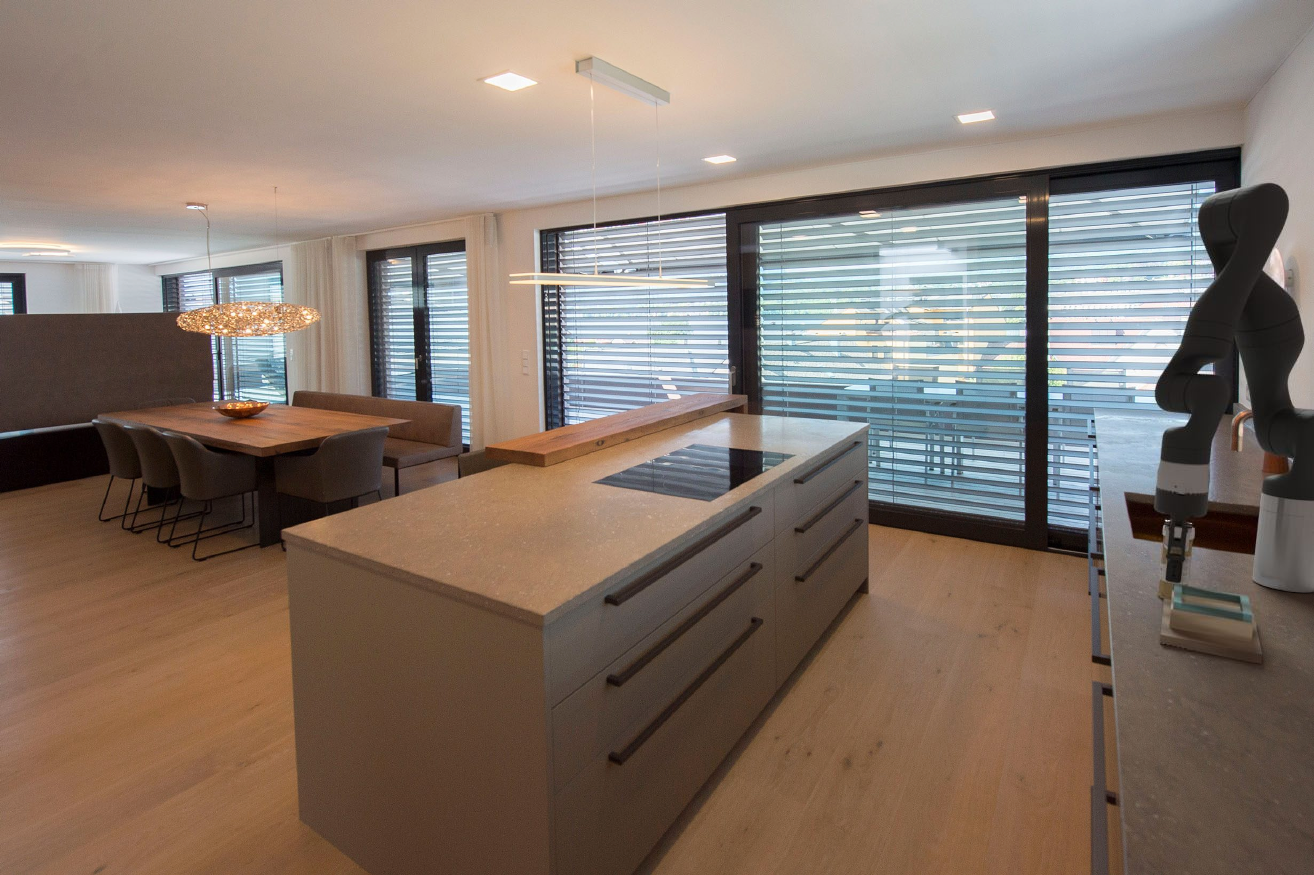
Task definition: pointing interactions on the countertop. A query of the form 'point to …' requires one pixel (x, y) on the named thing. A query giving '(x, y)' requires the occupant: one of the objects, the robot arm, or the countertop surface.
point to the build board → (1210, 641)
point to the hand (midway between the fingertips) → (1173, 575)
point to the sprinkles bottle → (1166, 586)
